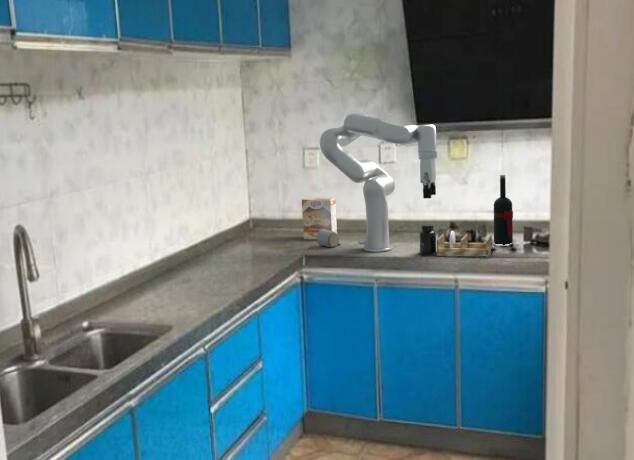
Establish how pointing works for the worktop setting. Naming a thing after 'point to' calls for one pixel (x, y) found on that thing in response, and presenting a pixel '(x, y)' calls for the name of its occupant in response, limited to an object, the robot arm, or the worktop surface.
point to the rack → (464, 247)
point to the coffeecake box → (318, 216)
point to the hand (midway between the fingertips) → (429, 196)
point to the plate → (452, 239)
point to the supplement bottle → (427, 239)
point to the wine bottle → (503, 217)
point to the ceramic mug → (328, 238)
